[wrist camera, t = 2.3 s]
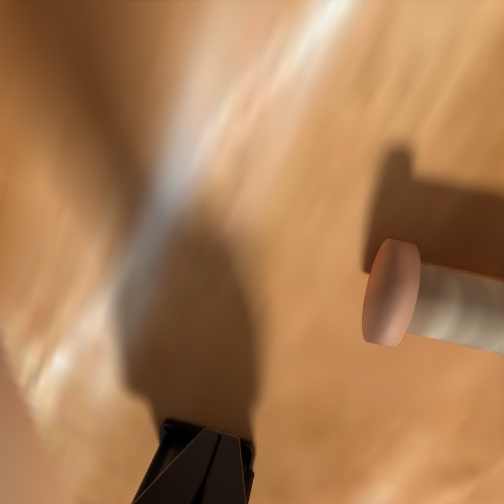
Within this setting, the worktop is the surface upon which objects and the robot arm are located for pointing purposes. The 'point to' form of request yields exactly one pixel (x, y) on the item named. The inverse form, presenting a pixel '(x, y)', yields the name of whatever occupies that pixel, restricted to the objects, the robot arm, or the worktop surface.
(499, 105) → the worktop surface
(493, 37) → the worktop surface
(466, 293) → the pin
